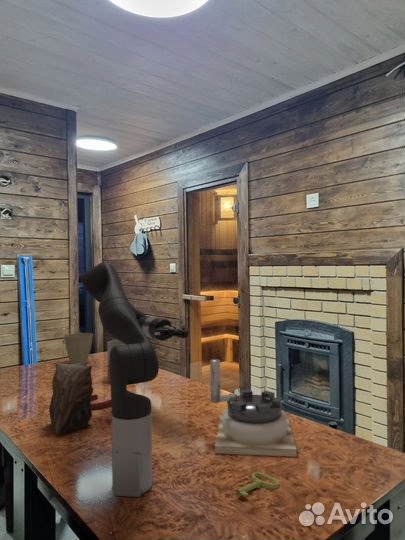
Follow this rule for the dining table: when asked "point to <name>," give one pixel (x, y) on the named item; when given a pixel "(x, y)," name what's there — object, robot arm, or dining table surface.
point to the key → (258, 484)
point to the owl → (71, 398)
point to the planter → (109, 347)
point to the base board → (276, 449)
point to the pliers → (99, 405)
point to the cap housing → (255, 430)
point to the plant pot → (78, 347)
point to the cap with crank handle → (245, 401)
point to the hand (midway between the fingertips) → (186, 334)
